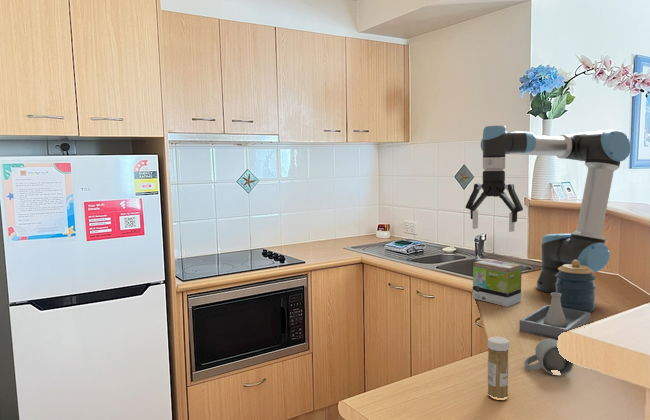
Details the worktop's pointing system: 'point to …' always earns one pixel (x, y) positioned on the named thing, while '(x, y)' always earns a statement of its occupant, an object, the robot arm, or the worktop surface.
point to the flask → (555, 312)
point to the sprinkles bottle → (498, 367)
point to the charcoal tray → (537, 326)
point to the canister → (576, 287)
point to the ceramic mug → (548, 358)
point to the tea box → (497, 282)
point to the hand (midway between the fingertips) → (493, 229)
